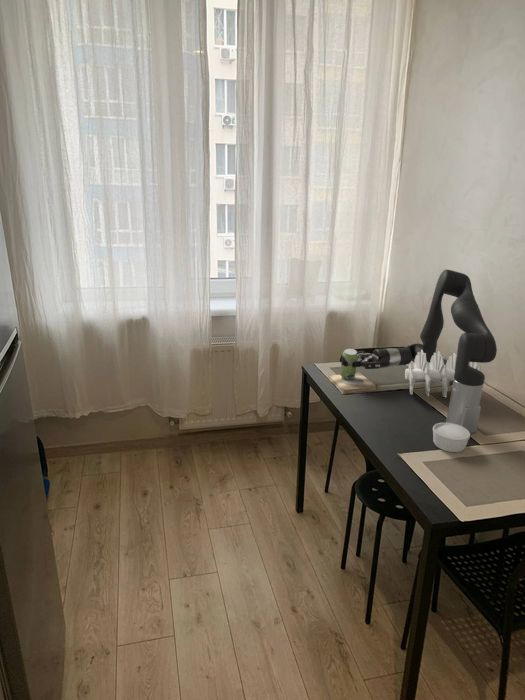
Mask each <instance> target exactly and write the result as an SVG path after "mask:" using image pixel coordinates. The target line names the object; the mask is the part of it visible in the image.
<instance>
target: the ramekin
mask: <svg viewBox="0 0 525 700" xmlns="http://www.w3.org/2000/svg"><path fill="white" fill-rule="evenodd" d="M432 436H433V437H432V441H433V443H434V445H435V446H436V447H437V448H439V449H440V450H443V451H445V452H449V453H460V452H462V451H464V450H465V448H466V447H467V445H468V441H469V440H470V438H471V433H470V432H469V431H468V430H467V429H466V428H464V427H462V426H460V425H457V424H453V423H446V422H438V423H435V424H434V425H433V426H432Z"/></svg>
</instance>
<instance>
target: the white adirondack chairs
mask: <svg viewBox="0 0 525 700" xmlns="http://www.w3.org/2000/svg"><path fill="white" fill-rule="evenodd" d="M456 359H457V353H455V352H453V354H451V355H449V356H448V359H447V360H446V363H444V355H443V354H441V352H440V351H439V350H437V352H436V353H434V355H432V357H431V360H430V362H431V363H429V362H427V360H426V353H423V350H421V352H417V355H416V357H415V360H414V359H413V361H414V362H413V363H412V365H411V363H409V364H408V368H405V370H404V378H405V380H409V394H410V395H411V396H412V395H414V393H413V392H414V385H415V383H417V381H425V386H424V387H425V395H426V396H427V397H430V392H431V389H430V388H431V384H432V383H433V382H434V381H441V383H440V384H441V394H442V397H445V398H448V397H447V396H448V395H447V394H448V386H450V383H451V382H453V380H454V374H455V365H456ZM478 363H479V362H469V366H470V367H472V368H475V369H477V370H479V371H481V365H479V364H478Z"/></svg>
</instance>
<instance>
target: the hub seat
mask: <svg viewBox="0 0 525 700" xmlns="http://www.w3.org/2000/svg"><path fill="white" fill-rule="evenodd" d="M328 380H329V381H330V382H331V383H332V384H333V385H334V386H335V387H336V388H337V389H338V390H339V391H341V393H343V394H348V393H349V392H350V393H358V392H357V391H359V392H366V390H368V391H376V390H377V386H376V384H375V383H373V382H372V381H371V380H369V378H367V377H366V376H364V375H363V374H362V373H361V372H355V377H354V378H351V379H345V378H343V377H342V376H341V375H340V373H339V374H332V375H331V374H330V375H328ZM375 389H376V390H375ZM350 393H349V394H350Z"/></svg>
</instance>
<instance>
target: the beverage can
mask: <svg viewBox="0 0 525 700" xmlns="http://www.w3.org/2000/svg"><path fill="white" fill-rule="evenodd" d="M357 359H358V354H357V350H356V349H354V348H346V349H344V351H343V352H342V356H341V363H340V370H339V374H340V375H341V376H342V377H343V378H345V379H351V378H354V377H355V373H357V371H356V370H357V367H352V362H353V361H357Z"/></svg>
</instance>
